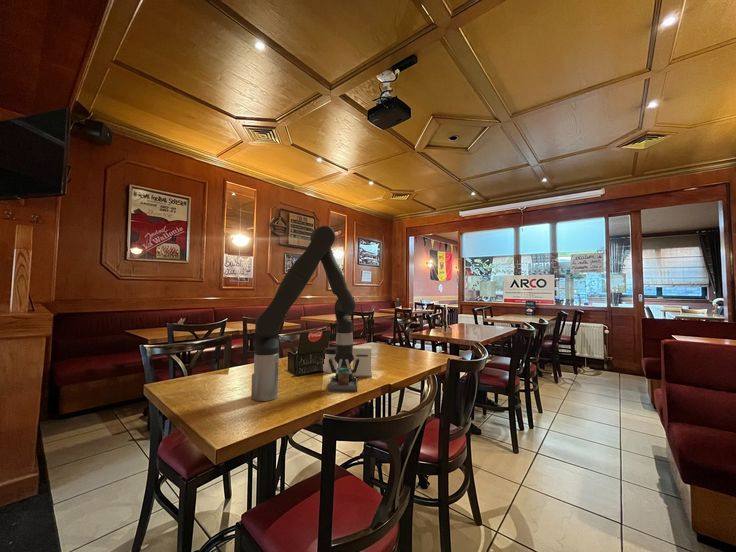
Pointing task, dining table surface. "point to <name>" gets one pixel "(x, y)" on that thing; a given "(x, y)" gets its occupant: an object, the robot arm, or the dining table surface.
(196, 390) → the dining table surface
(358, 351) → the dispenser
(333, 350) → the jar
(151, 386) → the dining table surface
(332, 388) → the tray
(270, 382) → the robot arm
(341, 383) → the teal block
